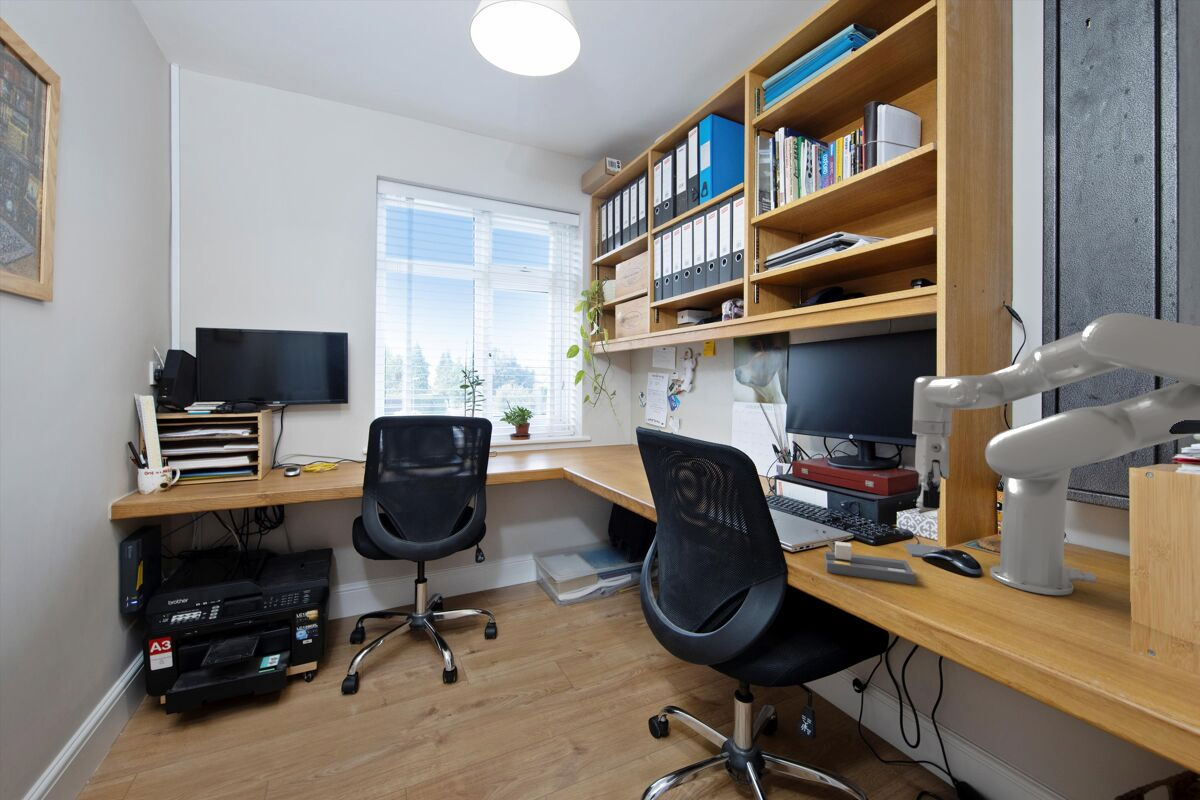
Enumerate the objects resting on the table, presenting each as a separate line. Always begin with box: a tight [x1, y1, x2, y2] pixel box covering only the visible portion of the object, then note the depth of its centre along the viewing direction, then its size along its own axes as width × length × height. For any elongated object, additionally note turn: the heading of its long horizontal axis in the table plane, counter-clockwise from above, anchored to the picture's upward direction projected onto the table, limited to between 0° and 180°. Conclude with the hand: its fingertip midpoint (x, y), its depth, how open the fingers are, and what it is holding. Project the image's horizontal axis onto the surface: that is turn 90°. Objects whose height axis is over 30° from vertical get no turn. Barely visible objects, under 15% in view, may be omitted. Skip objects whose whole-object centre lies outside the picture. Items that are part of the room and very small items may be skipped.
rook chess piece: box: [915, 475, 938, 511], centre depth 114 cm, size 4×4×8 cm
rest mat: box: [904, 542, 945, 558], centre depth 114 cm, size 8×8×1 cm
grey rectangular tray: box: [824, 550, 916, 585], centre depth 103 cm, size 16×8×2 cm, turn 68°
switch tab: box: [834, 540, 853, 560], centre depth 105 cm, size 3×2×3 cm
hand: (928, 504), depth 114 cm, fingers closed on rook chess piece, 4 cm apart
